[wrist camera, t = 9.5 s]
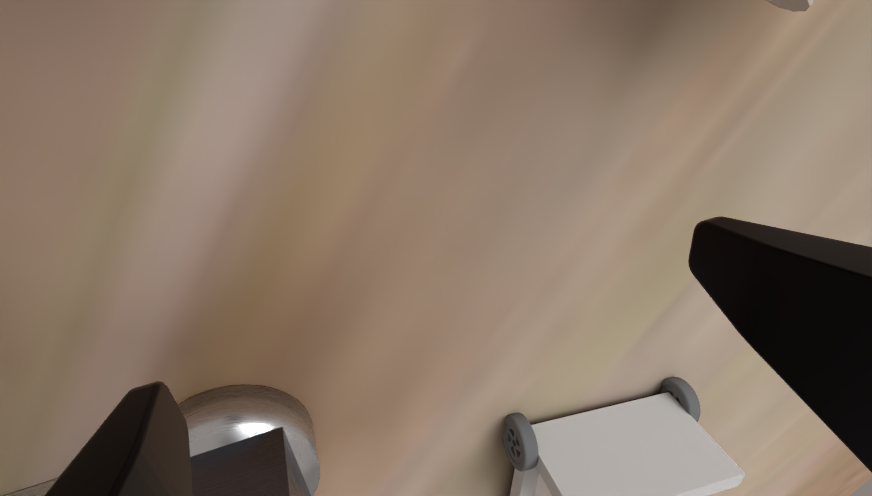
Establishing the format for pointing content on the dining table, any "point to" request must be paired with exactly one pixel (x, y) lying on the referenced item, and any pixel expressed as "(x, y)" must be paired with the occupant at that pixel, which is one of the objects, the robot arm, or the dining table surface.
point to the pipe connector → (792, 4)
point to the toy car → (621, 450)
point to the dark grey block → (249, 468)
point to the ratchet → (241, 425)
